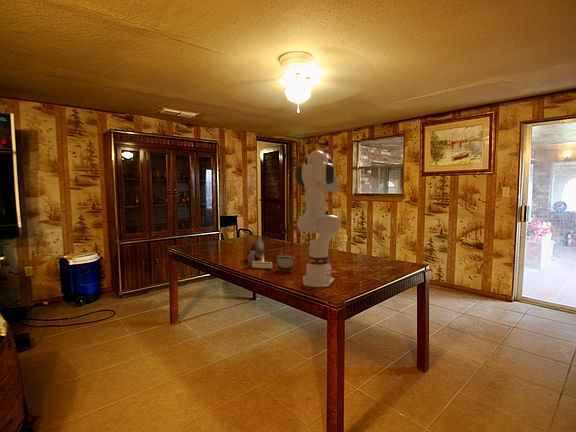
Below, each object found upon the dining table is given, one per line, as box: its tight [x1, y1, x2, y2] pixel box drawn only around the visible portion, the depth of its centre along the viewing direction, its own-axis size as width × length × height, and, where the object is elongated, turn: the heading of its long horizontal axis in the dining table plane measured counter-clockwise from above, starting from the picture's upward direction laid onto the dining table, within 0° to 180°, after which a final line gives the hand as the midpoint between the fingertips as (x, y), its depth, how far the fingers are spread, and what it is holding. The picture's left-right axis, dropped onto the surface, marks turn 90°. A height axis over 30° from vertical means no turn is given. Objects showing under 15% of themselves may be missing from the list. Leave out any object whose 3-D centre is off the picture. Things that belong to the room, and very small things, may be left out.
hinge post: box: [247, 254, 253, 269], centre depth 213 cm, size 3×3×10 cm
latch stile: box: [250, 251, 256, 262], centre depth 227 cm, size 2×3×9 cm
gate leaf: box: [252, 260, 273, 269], centre depth 211 cm, size 14×1×4 cm, turn 77°
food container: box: [275, 254, 295, 273], centre depth 206 cm, size 12×6×10 cm, turn 74°
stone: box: [246, 239, 265, 260], centre depth 241 cm, size 15×10×15 cm
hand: (324, 198), depth 210 cm, fingers open, 8 cm apart
